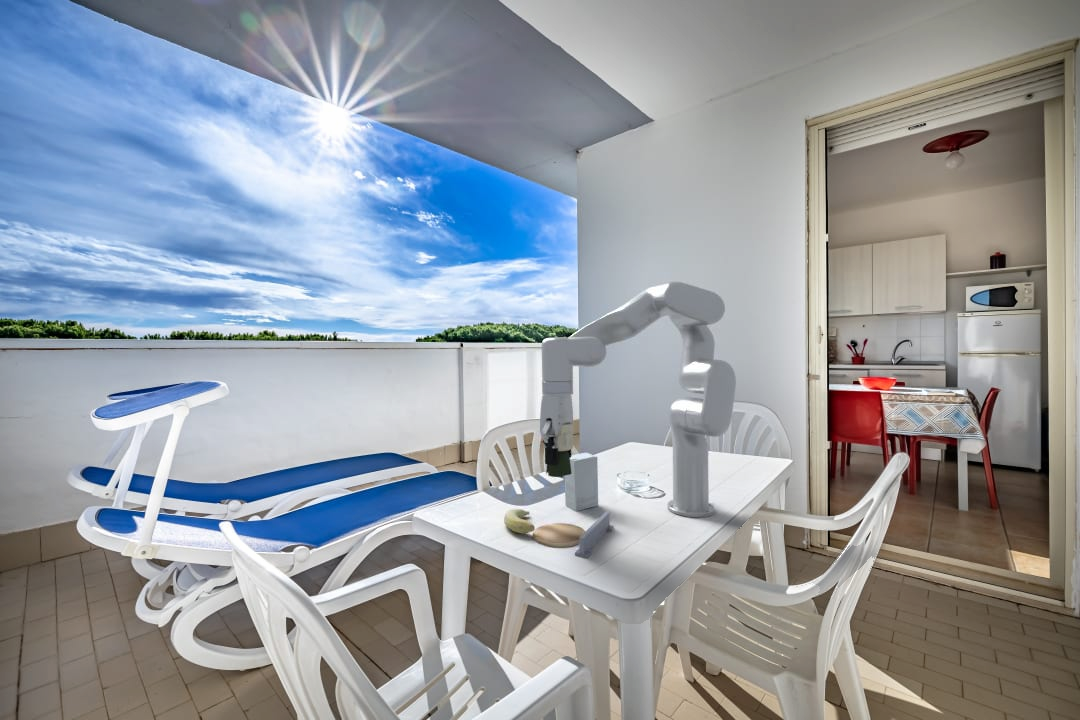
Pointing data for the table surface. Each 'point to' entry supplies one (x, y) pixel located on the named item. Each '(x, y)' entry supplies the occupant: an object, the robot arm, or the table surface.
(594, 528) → the grey cabinet handle
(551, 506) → the table surface
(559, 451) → the character mug
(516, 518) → the fruit
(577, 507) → the skincare box
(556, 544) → the coaster
